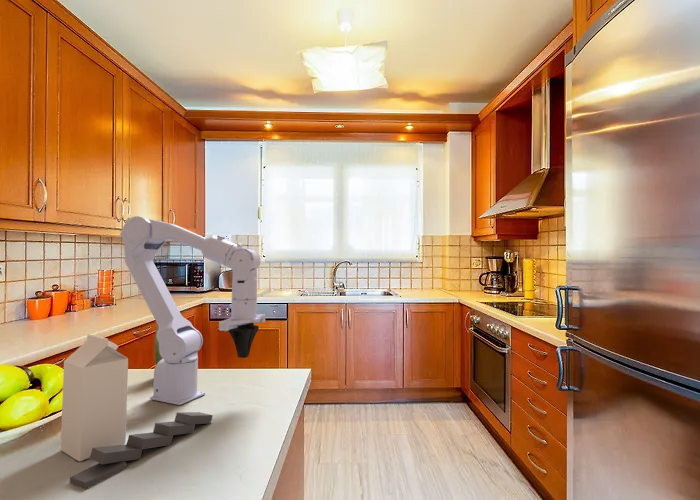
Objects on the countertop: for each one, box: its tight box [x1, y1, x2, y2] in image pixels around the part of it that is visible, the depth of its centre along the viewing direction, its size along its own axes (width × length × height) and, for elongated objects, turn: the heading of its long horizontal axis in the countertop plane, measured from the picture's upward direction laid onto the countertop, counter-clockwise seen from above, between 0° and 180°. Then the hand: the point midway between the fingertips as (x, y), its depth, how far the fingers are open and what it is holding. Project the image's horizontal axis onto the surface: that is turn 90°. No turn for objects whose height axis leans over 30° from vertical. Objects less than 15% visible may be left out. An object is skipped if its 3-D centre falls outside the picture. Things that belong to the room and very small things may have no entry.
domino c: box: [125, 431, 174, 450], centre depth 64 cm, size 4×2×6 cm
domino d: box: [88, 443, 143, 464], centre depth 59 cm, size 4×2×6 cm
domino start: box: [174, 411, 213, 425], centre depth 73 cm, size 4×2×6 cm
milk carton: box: [60, 334, 129, 462], centre depth 64 cm, size 7×7×19 cm
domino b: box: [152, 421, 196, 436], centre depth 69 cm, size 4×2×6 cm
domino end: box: [69, 461, 127, 490], centre depth 56 cm, size 4×2×6 cm
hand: (243, 356), depth 88 cm, fingers closed
